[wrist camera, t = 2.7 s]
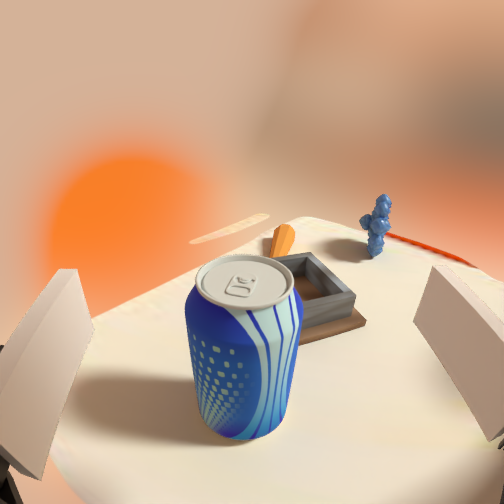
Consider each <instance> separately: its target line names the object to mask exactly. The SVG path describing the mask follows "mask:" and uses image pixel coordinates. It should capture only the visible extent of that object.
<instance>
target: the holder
mask: <svg viewBox="0 0 504 504" xmlns="http://www.w3.org/2000/svg"><path fill="white" fill-rule="evenodd" d="M271 259H273V260H276V261H278V262H280V263H281V264H283V265H284V266H286V267H287V268H288V269H289V270H290V272H291V273H292V275H293V278H294V287H295V289H296V291H297V292H298V294H299V296H300V298H301V300H302V303H303V310H304V313H303V320H302V326H301V332H300V338H299V344H298V346H299V345H303V344H306V343H310V342H313V341H317V340H320V339H324V338H327V337H330V336H334V335H337V334H340V333H344V332H347V331H350V330H353V329H356V328H359V327H362V326H365V323H366V319H365V318H364V317H363V316H362V315H361V314H360V313H359V312H358V311H357V310H356V309H355V308H354V303H355V299H356V295H355V294H354V293H353V292H352V291H351V290H350V289H349V288H348V287H347V286H346V285H345V284H344V283H343V282H342V281H341V280H340V279H339V278H338V277H336V276H335V275H334V274H333V273H332V272H331V271H330V270H329V269H328V268H327V267H326V266H325V265H324V264H323V263H321V262H320V261H319V260H318V259H317V258H316V257H315V256H314V255H313V254H312V253H311V252H307V253H301V254H294V255H287V256H280V257H274V258H271Z"/></svg>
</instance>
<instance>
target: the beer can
mask: <svg viewBox="0 0 504 504" xmlns="http://www.w3.org/2000/svg"><path fill="white" fill-rule="evenodd" d="M195 283H196V284H195V286H194V287H193V289H192V290H191V292H190V293H189V295H188V297H187V300H186V303H185V318H186V326H187V333H188V341H189V348H190V355H191V362H192V368H193V375H194V381H195V387H196V393H197V399H198V404H199V410H200V414H201V417H202V418H203V420H204V422H205V423H206V424H207V426H208V427H209V428H210V429H212V430H213V431H214V432H216V433H217V434H219V435H221V436H223V437H226V438H229V439H234V440H252V439H257V438H260V437H263V436H265V435H267V434H269V433H270V432H272V431H273V430H274V429H276V428H277V427H278V426H279V424H280V423H281V421H282V420H283V418H284V415H285V412H286V407H287V402H288V397H289V392H290V387H291V382H292V377H293V372H294V366H295V361H296V355H297V350H298V344H299V338H300V332H301V326H302V320H303V313H304V310H303V303H302V300H301V298H300V296H299V294H298V292H297V291H296V289H295V287H294V278H293V275H292V273H291V272H290V270H289V269H288V268H287V267H286V266H284V265H283V264H281V263H280V262H278V261H276V260H273V259H271V258H267V257H264V256H259V255H251V254H235V255H228V256H223V257H219V258H216V259H214V260H212V261H210V262H208V263H206V264H205V265H204V266H202V267H201V268H200V270H199V271H198V273H197V275H196V279H195Z"/></svg>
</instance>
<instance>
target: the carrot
mask: <svg viewBox="0 0 504 504" xmlns="http://www.w3.org/2000/svg"><path fill="white" fill-rule="evenodd" d="M294 238H295V231H294V229H293V228H292V227H291V226H290V225H286V224H282V225H280V226H279V227H278V228H276V229H275V230H274V235H273V240H272V246H271V251H270V257H269V258H274V257H280V256H287V254H288V252H289V250H290V248H291V246H292V244H293V242H294Z"/></svg>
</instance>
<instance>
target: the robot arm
mask: <svg viewBox="0 0 504 504" xmlns="http://www.w3.org/2000/svg"><path fill="white" fill-rule="evenodd" d="M413 322H414V324H415V325H416V326H417V328H418V329H419V331H420V332H421V334H422V335H423V336H424V338H425V339H426V341H427V342H428V344H429V345H430V347H431V348H432V350H433V351H434V353H435V354H436V356H437V357H438V359H439V360H440V362H441V363H442V365H443V366H444V368H445V369H446V371H447V372H448V374H449V376H450V377H451V379H452V380H453V382H454V384H455V385H456V387H457V388H458V390H459V392H460V393H461V395H462V397H463V398H464V400H465V401H466V403H467V405H468V407H469V408H470V410H471V412H472V413H473V415H474V417H475V419H476V420H477V422H478V424H479V426H480V427H481V429H482V431H483V433H484V435H485V436H486V438H487V440H488V442H490V441H492V440H494V439H495V438H497V437H499V436H501V435H502V434H503V433H504V323H503V322H502V321H501V320H500V319H499V318H498V317H497V316H496V315H495V314H494V312H493V311H492V310H491V309H490V308H489V307H488V306H487V305H486V304H485V303H484V302H483V301H482V300H481V299H480V298H479V297H478V296H477V295H476V294H475V293H474V292H473V291H472V290H471V289H470V288H469V287H468V286H467V285H466V284H465V283H464V282H463V281H462V280H461V279H460V278H459V277H458V276H457V275H456V274H455V273H454V272H453V271H452V270H451V269H450V268H449V267H448V266H446V265H439V266H432V269H431V272H430V275H429V278H428V281H427V284H426V287H425V290H424V293H423V296H422V299H421V301H420V304H419V307H418V309H417V312H416V315H415V317H414V320H413ZM94 331H95V329H94V326H93V323H92V320H91V317H90V314H89V311H88V307H87V304H86V300H85V297H84V293H83V290H82V286H81V283H80V279H79V275H78V271H77V269H59V270H58V271H57V273H56V274H55V275H54V277H53V278H52V279H51V280H50V282H49V283H48V284H47V285H46V287H45V288H44V290H43V291H42V292H41V294H40V295H39V296H38V298H37V299H36V300H35V302H34V303H33V305H32V306H31V307H30V309H29V310H28V311H27V313H26V314H25V316H24V317H23V319H22V320H21V322H20V323H19V325H18V326H17V328H16V329H15V331H14V332H13V333H12V335H11V336H10V338H9V340H8V341H7V343H6V344H5V346H4V345H0V504H23V502H22V499H21V497H20V495H19V492H18V490H17V487H16V485H15V482H14V479H13V477H12V476H11V474H10V472H9V471H8V468H9V465H11V466H13V467H14V468H15V469H16V470H17V471H18V472H20V473H21V474H24V475H26V476H29V477H31V478H34V479H37V480H40V481H41V479H42V476H43V472H44V468H45V465H46V461H47V457H48V454H49V451H50V447H51V444H52V441H53V438H54V435H55V431H56V428H57V425H58V422H59V419H60V416H61V414H62V411H63V408H64V405H65V402H66V400H67V397H68V394H69V391H70V389H71V386H72V384H73V381H74V378H75V376H76V373H77V371H78V368H79V366H80V363H81V361H82V359H83V356H84V354H85V351H86V349H87V347H88V344H89V342H90V340H91V338H92V335H93V333H94ZM503 446H504V439H503V440H502V441H501V443H500V444H499V446H498V449H501V448H502V447H503ZM503 450H504V449H503ZM500 504H504V486H503V492H502V497H501V501H500Z"/></svg>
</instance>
